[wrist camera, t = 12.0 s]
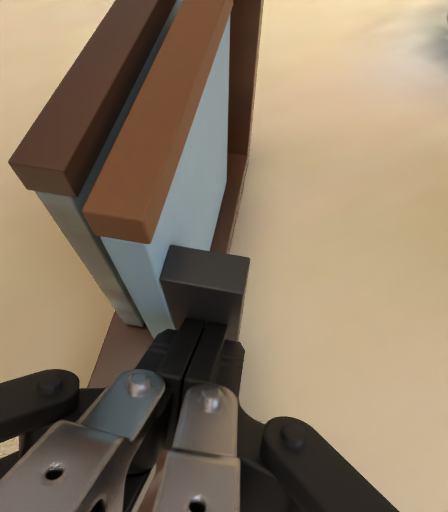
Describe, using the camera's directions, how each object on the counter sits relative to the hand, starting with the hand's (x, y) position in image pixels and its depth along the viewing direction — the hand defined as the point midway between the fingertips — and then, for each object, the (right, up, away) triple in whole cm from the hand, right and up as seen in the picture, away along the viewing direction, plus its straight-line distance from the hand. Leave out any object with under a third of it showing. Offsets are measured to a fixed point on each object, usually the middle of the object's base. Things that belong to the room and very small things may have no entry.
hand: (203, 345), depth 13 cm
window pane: (0, +3, +7) cm, 8 cm away
